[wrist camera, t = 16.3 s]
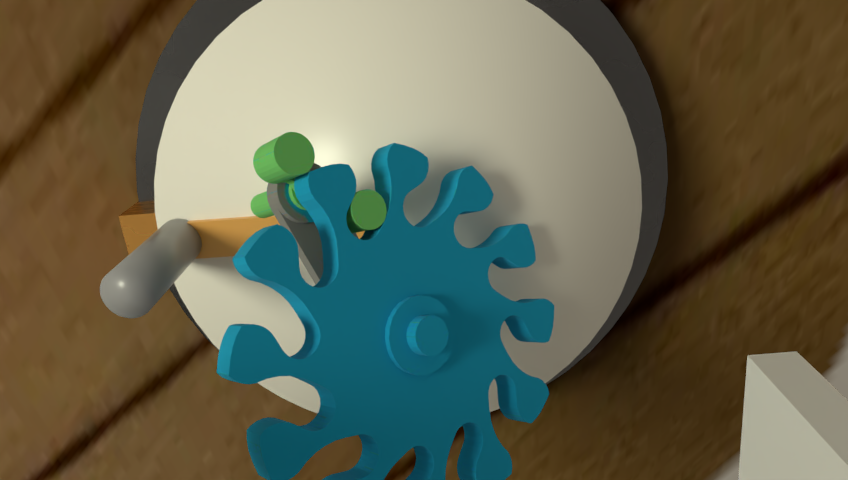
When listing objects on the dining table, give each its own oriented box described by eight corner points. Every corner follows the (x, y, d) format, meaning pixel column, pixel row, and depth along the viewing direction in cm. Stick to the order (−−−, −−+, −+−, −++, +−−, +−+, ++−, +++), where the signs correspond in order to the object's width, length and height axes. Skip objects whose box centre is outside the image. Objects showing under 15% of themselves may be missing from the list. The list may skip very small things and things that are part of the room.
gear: (615, 374, 21) (385, 642, 16) (489, 362, 26) (281, 564, 20) (454, 41, 18) (112, 226, 13) (347, 98, 23) (66, 249, 18)
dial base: (205, 423, 28) (184, 464, 25) (88, -56, 21) (45, -61, 19) (652, 392, 27) (672, 431, 24) (666, -116, 21) (696, -129, 18)
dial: (631, -56, 20) (708, -72, 14) (619, 383, 25) (672, 497, 20) (131, -14, 21) (17, -13, 15) (221, 406, 26) (162, 523, 20)
